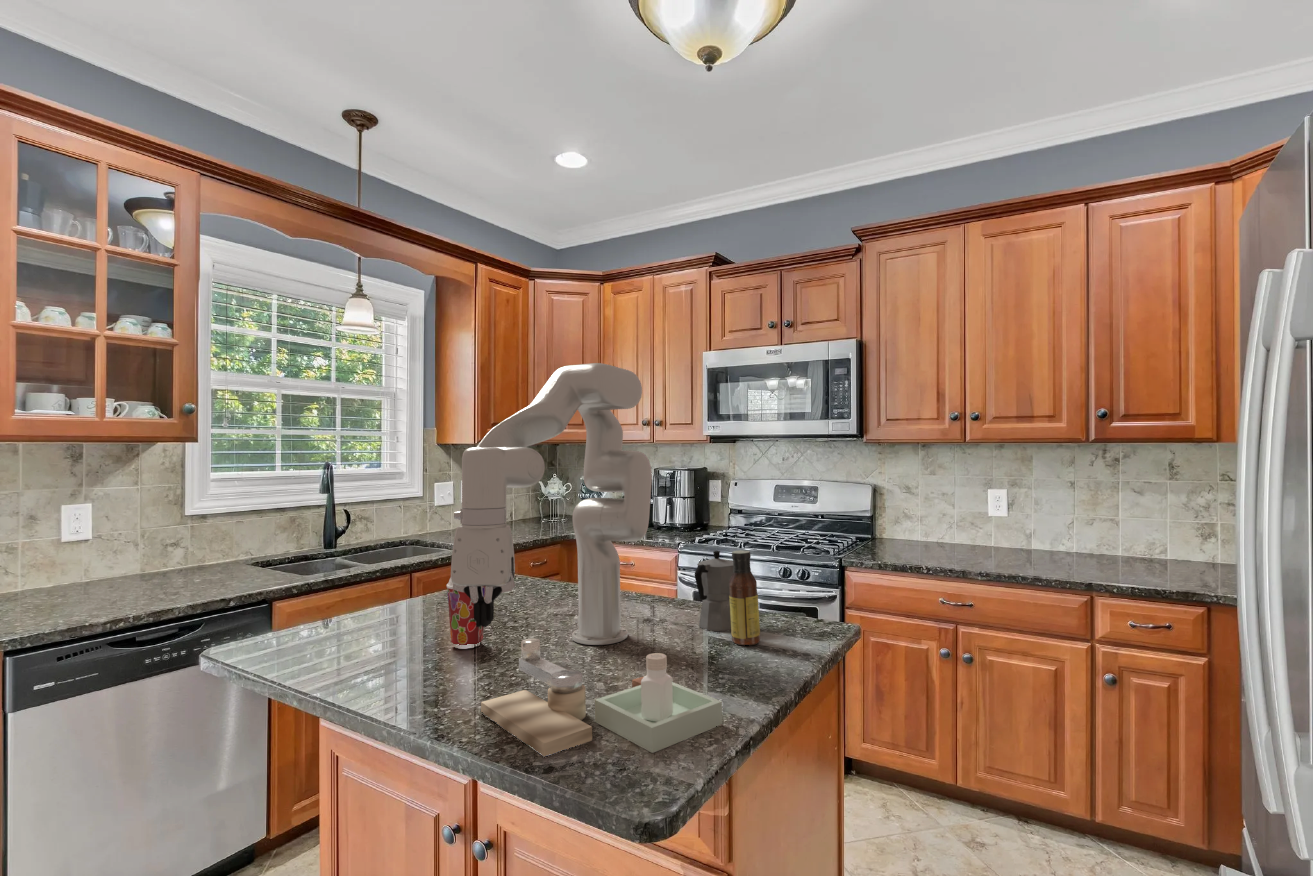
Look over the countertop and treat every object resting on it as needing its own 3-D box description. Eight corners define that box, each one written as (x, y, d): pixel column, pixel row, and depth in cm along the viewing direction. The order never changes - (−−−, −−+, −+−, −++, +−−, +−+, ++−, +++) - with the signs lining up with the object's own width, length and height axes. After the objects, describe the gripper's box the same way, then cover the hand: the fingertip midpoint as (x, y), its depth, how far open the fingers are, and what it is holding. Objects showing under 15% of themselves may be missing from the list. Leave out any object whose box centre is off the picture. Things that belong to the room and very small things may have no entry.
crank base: (481, 714, 105) (480, 687, 105) (614, 675, 123) (613, 652, 123) (544, 757, 90) (543, 726, 90) (686, 706, 107) (685, 679, 107)
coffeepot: (716, 617, 163) (715, 545, 164) (749, 623, 157) (747, 548, 158) (680, 631, 151) (679, 554, 151) (714, 638, 145) (712, 557, 146)
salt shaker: (640, 720, 100) (639, 658, 100) (651, 710, 104) (650, 650, 104) (663, 724, 98) (662, 661, 98) (674, 714, 102) (673, 653, 102)
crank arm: (588, 688, 104) (587, 656, 104) (561, 696, 101) (561, 663, 101) (539, 664, 116) (538, 636, 116) (513, 671, 113) (513, 642, 113)
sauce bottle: (759, 638, 145) (757, 549, 145) (761, 647, 138) (759, 553, 139) (729, 638, 145) (728, 549, 146) (730, 646, 139) (728, 553, 139)
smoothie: (494, 642, 145) (493, 552, 146) (472, 653, 137) (470, 558, 138) (462, 639, 148) (461, 551, 148) (439, 650, 140) (438, 557, 140)
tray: (595, 722, 102) (594, 699, 102) (662, 698, 111) (662, 678, 111) (652, 753, 91) (651, 727, 91) (722, 724, 100) (721, 701, 100)
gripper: (433, 520, 110) (432, 630, 109) (519, 520, 108) (519, 631, 108) (451, 516, 117) (450, 619, 116) (532, 516, 116) (532, 620, 115)
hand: (483, 624), depth 112 cm, fingers closed
